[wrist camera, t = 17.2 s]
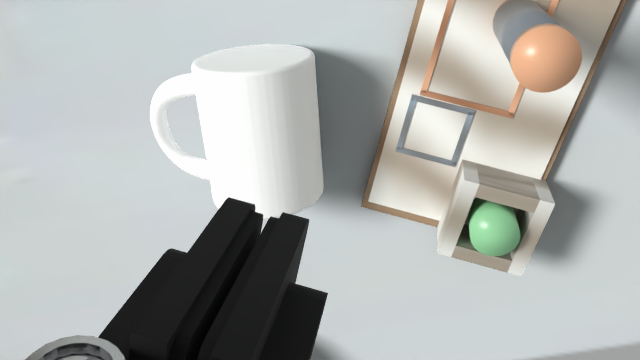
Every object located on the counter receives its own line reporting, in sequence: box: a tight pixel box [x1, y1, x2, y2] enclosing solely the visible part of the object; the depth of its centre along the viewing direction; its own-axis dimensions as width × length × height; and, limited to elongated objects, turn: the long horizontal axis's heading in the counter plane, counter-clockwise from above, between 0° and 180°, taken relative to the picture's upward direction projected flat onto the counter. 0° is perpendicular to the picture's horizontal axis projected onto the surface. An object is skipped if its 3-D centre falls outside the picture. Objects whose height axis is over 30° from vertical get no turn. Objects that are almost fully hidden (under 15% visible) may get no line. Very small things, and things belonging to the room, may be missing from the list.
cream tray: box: [361, 0, 627, 276], centre depth 36 cm, size 22×12×4 cm, turn 169°
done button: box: [468, 198, 520, 256], centre depth 38 cm, size 3×3×3 cm
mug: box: [150, 44, 324, 219], centre depth 38 cm, size 12×10×8 cm
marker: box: [493, 0, 582, 93], centre depth 30 cm, size 3×3×10 cm
